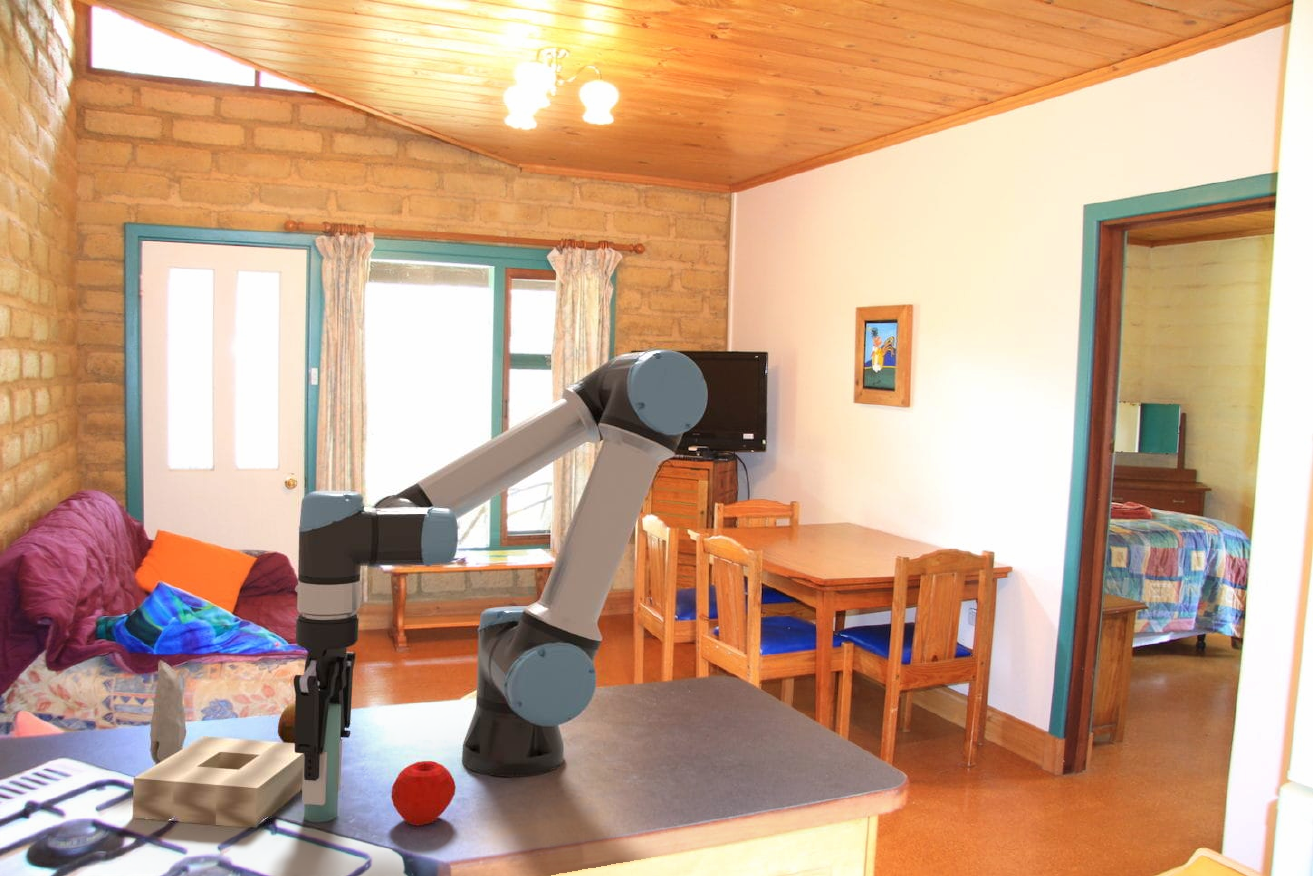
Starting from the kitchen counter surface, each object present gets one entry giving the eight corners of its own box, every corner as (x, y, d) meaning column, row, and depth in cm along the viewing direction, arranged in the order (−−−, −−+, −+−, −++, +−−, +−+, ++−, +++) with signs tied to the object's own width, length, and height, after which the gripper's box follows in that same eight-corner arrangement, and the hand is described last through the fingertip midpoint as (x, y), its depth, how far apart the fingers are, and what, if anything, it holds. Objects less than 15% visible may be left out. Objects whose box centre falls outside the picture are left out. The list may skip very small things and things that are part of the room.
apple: (454, 833, 123) (457, 774, 122) (388, 836, 121) (390, 776, 121) (454, 807, 130) (456, 751, 130) (392, 810, 129) (394, 753, 129)
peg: (342, 811, 128) (346, 703, 127) (329, 823, 124) (333, 712, 123) (312, 808, 128) (316, 701, 128) (298, 821, 124) (302, 710, 124)
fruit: (338, 756, 147) (340, 702, 147) (279, 762, 144) (281, 708, 143) (331, 739, 154) (332, 689, 154) (274, 745, 150) (276, 693, 150)
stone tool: (166, 778, 136) (170, 669, 135) (141, 778, 135) (145, 669, 135) (189, 754, 145) (192, 653, 145) (165, 754, 145) (169, 653, 144)
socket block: (312, 780, 137) (314, 745, 137) (256, 828, 121) (257, 788, 121) (202, 771, 139) (204, 736, 139) (132, 818, 123) (133, 778, 123)
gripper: (327, 599, 134) (321, 770, 135) (267, 625, 117) (260, 821, 118) (381, 602, 133) (375, 774, 134) (328, 629, 116) (321, 826, 117)
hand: (321, 795), depth 126 cm, fingers closed on peg, 4 cm apart
